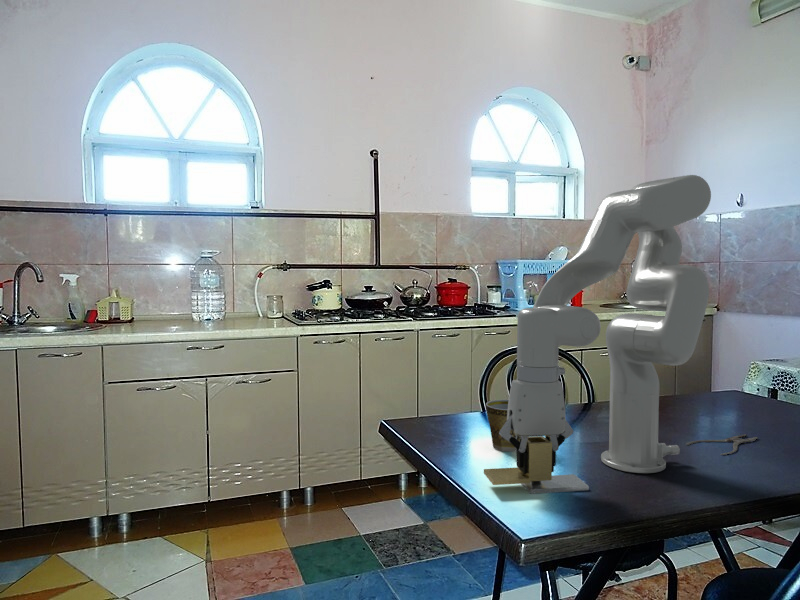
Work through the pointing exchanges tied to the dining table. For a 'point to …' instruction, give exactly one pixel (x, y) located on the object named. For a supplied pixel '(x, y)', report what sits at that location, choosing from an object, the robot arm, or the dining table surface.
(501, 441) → the ceramic cup
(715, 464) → the dining table surface
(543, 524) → the dining table surface
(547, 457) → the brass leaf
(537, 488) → the steel leaf with pin
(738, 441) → the pliers
